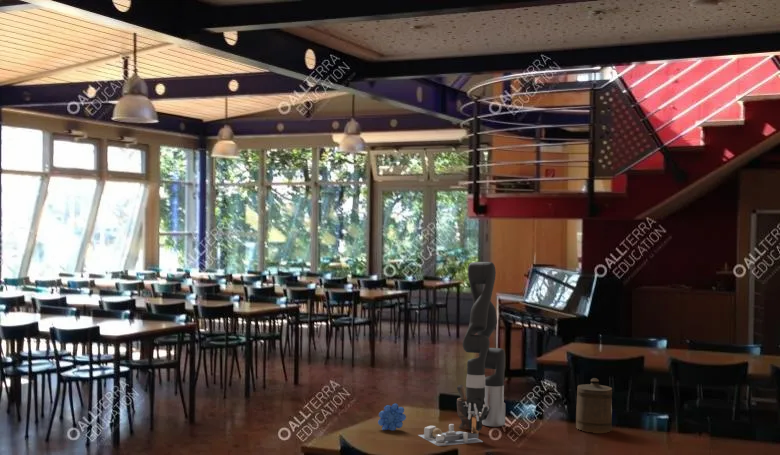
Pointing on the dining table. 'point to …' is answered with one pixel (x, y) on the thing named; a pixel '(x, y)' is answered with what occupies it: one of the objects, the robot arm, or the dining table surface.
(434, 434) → the hazelnut
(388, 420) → the blue lumpy cluster
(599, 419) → the wooden container
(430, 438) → the nutcracker base
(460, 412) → the mortar and pestle
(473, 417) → the lever
